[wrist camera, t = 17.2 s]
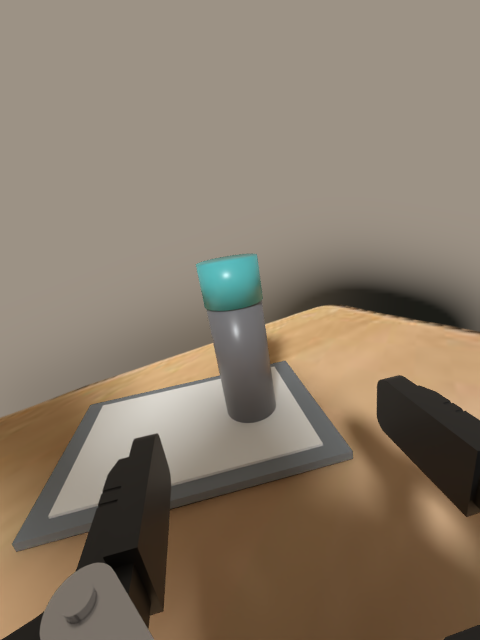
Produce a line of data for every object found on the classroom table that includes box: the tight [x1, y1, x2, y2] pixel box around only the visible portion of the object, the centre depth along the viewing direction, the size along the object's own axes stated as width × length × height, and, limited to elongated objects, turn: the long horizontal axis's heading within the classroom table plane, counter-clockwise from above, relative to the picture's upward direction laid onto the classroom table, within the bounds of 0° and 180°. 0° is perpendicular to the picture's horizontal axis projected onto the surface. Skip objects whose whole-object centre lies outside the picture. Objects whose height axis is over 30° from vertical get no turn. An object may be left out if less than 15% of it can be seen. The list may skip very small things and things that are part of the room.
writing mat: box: [12, 361, 353, 552], centre depth 23 cm, size 20×13×1 cm, turn 100°
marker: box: [196, 254, 276, 423], centre depth 21 cm, size 4×4×12 cm
